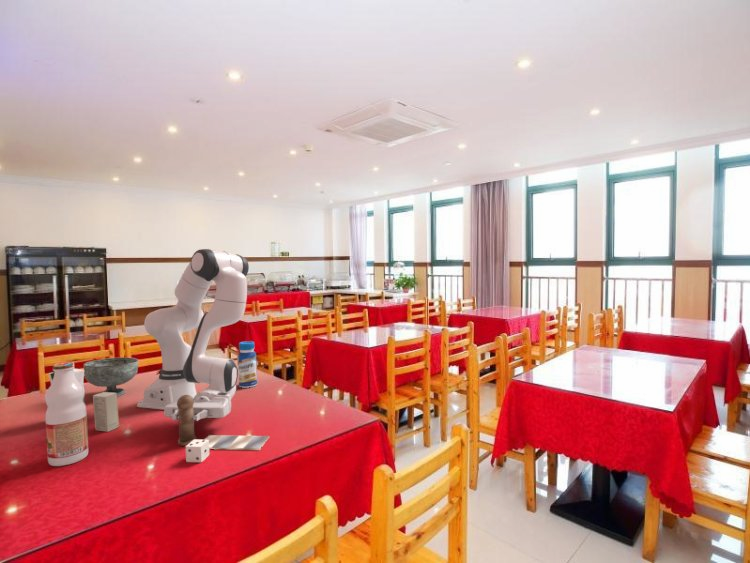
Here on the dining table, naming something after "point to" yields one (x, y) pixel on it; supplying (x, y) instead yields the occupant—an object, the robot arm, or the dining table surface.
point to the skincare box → (106, 411)
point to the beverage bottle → (247, 365)
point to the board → (236, 442)
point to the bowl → (111, 372)
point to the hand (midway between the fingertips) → (184, 418)
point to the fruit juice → (66, 417)
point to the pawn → (185, 420)
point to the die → (197, 450)
